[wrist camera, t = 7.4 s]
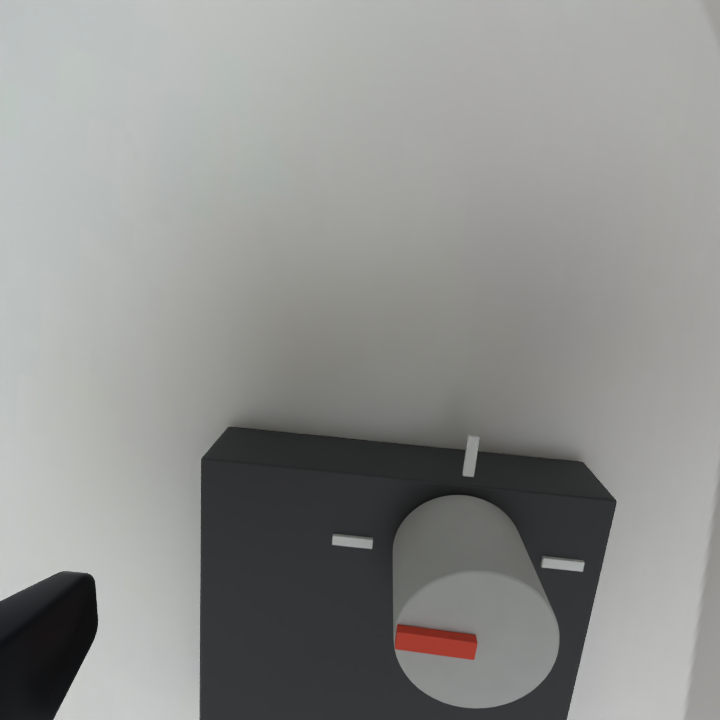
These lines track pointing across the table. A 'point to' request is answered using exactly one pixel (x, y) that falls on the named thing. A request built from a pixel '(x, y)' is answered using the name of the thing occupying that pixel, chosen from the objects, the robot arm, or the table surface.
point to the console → (366, 570)
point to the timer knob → (469, 605)
